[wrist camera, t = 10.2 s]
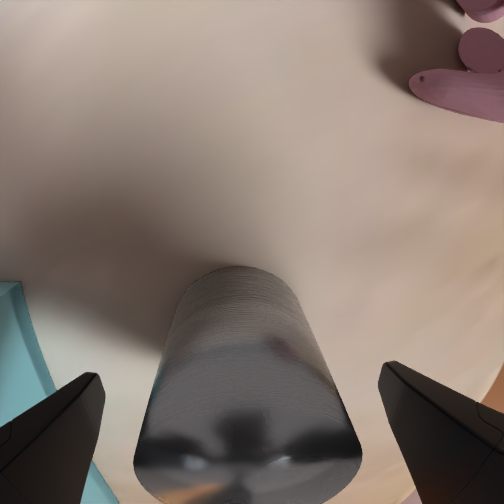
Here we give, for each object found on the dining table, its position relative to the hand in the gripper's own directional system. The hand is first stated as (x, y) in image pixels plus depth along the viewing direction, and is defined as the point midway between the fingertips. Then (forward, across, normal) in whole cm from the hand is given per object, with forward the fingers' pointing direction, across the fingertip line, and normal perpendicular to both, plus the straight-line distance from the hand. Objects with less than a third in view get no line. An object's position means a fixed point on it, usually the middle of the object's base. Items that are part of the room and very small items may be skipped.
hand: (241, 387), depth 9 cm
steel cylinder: (+4, 0, 0) cm, 4 cm away
